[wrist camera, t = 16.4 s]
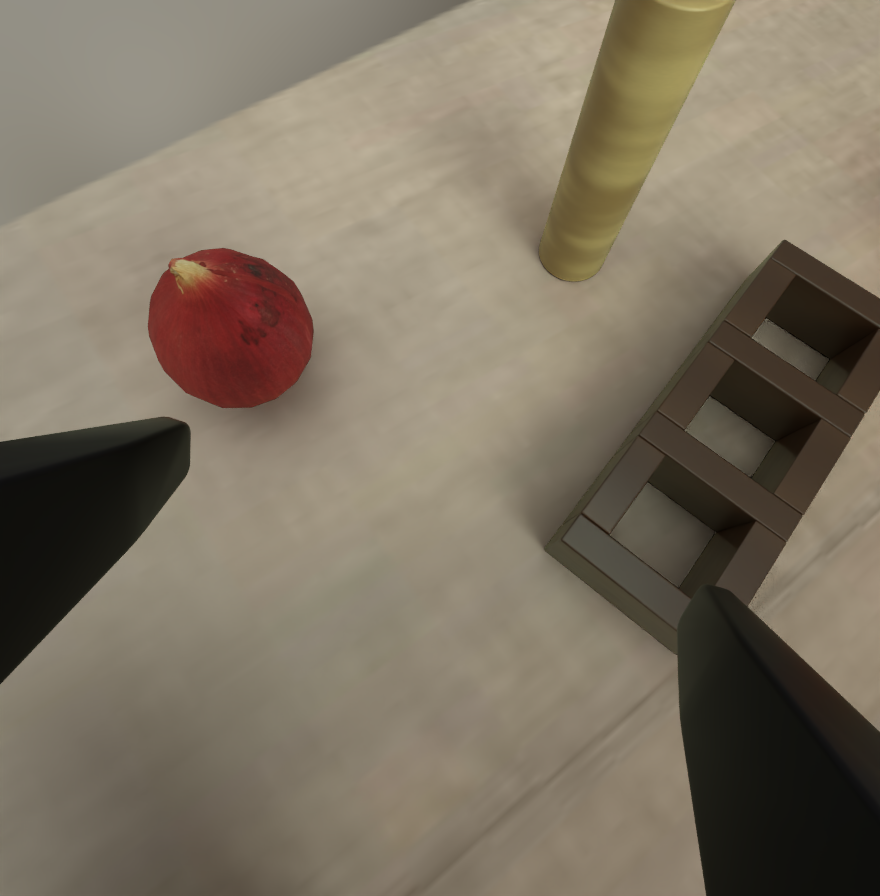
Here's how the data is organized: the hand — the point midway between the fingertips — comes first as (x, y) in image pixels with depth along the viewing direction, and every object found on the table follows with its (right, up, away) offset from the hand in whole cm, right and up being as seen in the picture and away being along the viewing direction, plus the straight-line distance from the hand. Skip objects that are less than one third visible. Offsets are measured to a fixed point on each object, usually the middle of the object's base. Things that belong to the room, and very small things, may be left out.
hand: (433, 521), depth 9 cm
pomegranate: (-8, +5, +16) cm, 18 cm away
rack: (+12, +1, +15) cm, 19 cm away
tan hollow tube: (+7, +11, +18) cm, 22 cm away
